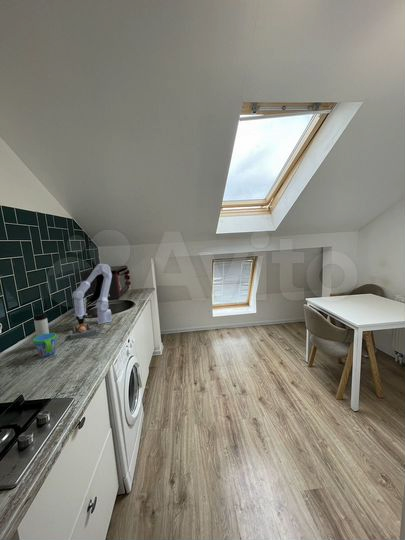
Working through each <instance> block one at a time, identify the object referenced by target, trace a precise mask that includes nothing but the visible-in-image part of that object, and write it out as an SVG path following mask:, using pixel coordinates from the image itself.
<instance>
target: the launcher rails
mask: <svg viewBox="0 0 405 540" xmlns="http://www.w3.org/2000/svg"><path fill="white" fill-rule="evenodd" d="M86 324H87V329H88V331H91V330H92V329H91V325H90V322H87V323H86ZM72 326H73V334H77V331H76V330H77V328H76V325H72Z"/></svg>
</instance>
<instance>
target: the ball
mask: <svg viewBox="0 0 405 540" xmlns="http://www.w3.org/2000/svg"><path fill="white" fill-rule="evenodd" d="M78 332H79V333H82V332H87V330H86V328H85V327H83V326H82V327H80V329H79V331H78Z"/></svg>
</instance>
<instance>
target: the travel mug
mask: <svg viewBox="0 0 405 540" xmlns="http://www.w3.org/2000/svg"><path fill="white" fill-rule="evenodd" d="M33 322H34V328H35V337H37V336H40V335H43V334H47V333H50V330H49V322H48V315H47V312H41V313H37V314H35V315H33Z"/></svg>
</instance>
